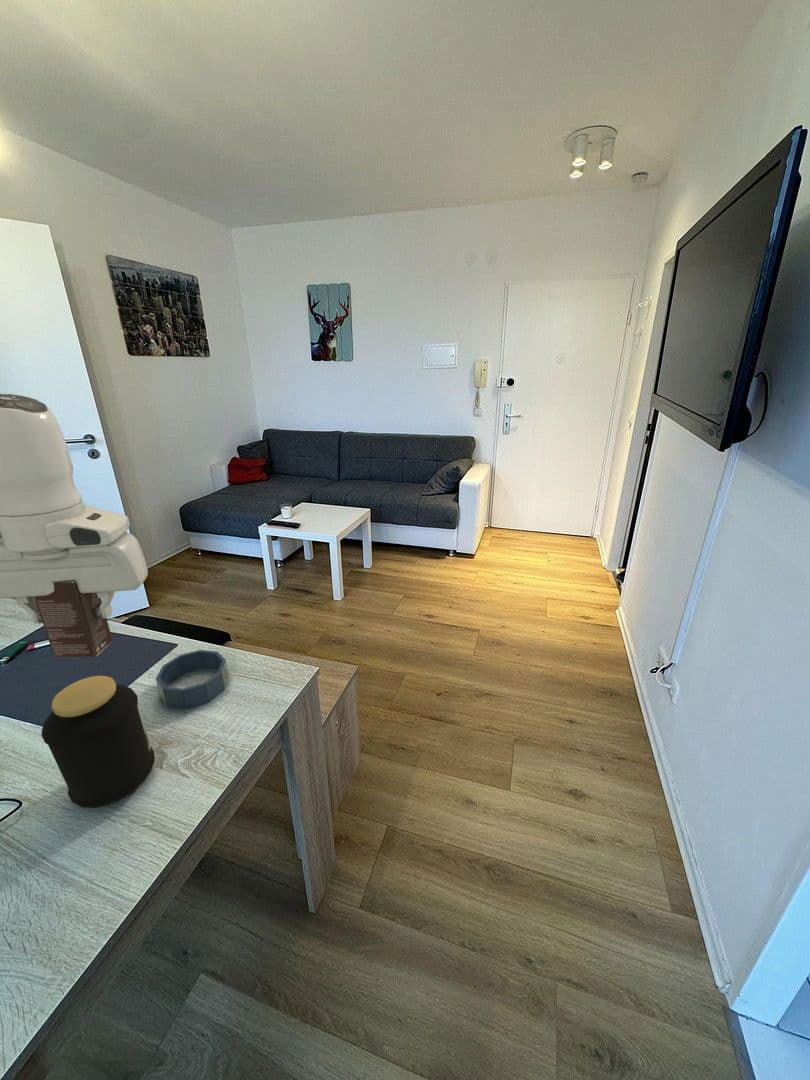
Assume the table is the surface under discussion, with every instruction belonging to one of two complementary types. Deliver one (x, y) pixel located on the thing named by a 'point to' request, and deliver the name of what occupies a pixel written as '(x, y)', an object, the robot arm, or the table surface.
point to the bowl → (197, 692)
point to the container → (98, 741)
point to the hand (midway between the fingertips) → (75, 618)
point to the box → (73, 621)
